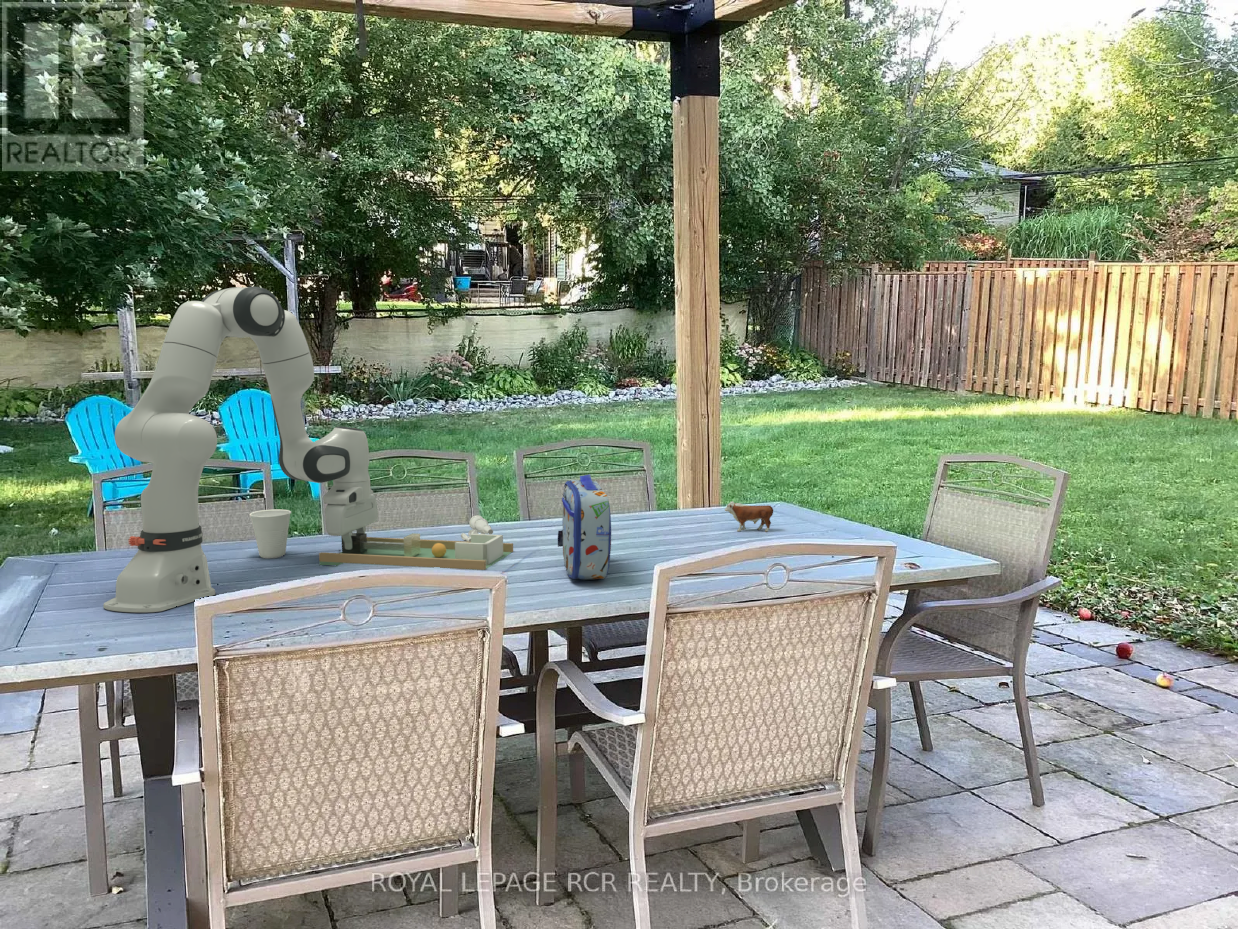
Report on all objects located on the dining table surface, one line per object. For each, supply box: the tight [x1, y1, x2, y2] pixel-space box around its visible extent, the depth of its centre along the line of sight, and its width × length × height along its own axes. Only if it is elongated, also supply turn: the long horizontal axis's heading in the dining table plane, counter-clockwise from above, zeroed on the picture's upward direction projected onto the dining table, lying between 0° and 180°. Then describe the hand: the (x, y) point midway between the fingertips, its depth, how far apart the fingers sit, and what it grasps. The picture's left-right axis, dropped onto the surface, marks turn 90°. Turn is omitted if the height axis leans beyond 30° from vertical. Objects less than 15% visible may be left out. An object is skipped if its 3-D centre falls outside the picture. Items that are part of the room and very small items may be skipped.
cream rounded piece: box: [460, 514, 494, 542], centre depth 264 cm, size 8×14×5 cm
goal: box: [455, 533, 504, 565], centre depth 242 cm, size 11×8×5 cm
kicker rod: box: [340, 532, 421, 557], centre depth 247 cm, size 5×19×5 cm, turn 77°
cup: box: [248, 508, 292, 559], centre depth 251 cm, size 10×10×11 cm
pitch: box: [318, 536, 514, 571], centre depth 245 cm, size 20×42×3 cm, turn 77°
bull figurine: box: [724, 501, 774, 533], centre depth 279 cm, size 4×13×8 cm, turn 82°
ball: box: [432, 543, 446, 557], centre depth 244 cm, size 4×4×4 cm
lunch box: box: [557, 474, 612, 580], centre depth 231 cm, size 28×10×22 cm, turn 9°
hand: (354, 546), depth 249 cm, fingers closed on kicker rod, 3 cm apart
